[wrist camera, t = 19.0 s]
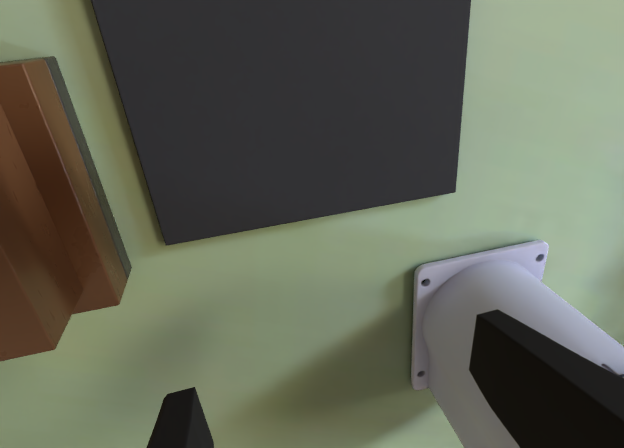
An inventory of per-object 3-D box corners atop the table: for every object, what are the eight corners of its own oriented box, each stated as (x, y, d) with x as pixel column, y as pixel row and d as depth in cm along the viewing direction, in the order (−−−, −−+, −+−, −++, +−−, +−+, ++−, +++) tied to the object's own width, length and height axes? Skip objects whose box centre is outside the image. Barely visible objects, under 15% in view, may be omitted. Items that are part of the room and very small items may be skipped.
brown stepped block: (132, 267, 18) (100, 365, 13) (26, 287, 18) (-53, 399, 12) (55, 55, 14) (-37, 75, 9) (-88, 71, 14) (-278, 103, 8)
